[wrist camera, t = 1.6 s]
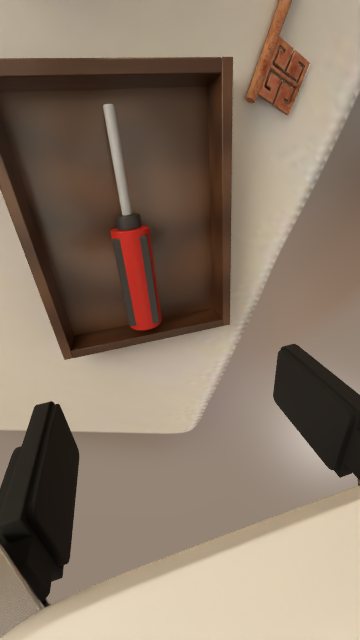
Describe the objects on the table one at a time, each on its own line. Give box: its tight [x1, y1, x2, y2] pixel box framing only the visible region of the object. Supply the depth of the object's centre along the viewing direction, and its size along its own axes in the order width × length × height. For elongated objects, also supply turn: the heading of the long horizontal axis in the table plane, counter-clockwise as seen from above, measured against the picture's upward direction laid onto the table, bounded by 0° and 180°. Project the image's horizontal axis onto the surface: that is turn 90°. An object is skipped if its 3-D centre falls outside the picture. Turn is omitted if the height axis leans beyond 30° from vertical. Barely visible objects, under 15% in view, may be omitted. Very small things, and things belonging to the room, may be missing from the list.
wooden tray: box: [0, 57, 233, 360], centre depth 22 cm, size 21×17×3 cm
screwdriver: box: [103, 104, 162, 330], centre depth 22 cm, size 17×3×3 cm, turn 5°
